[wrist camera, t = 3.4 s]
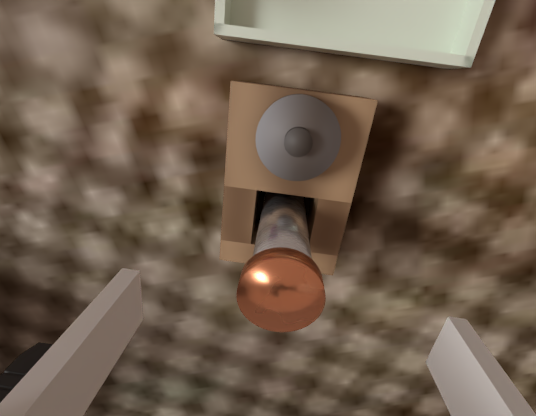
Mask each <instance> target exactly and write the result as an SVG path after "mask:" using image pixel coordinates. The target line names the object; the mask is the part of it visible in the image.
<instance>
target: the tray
mask: <svg viewBox="0 0 536 416" xmlns="http://www.w3.org/2000/svg"><path fill="white" fill-rule="evenodd" d="M494 3H495V0H215V19H214V34H215V35H216V36H218V37H219V38H221V39H223V40H231V41H238V42H246V43H254V44H261V45H269V46H276V47H284V48H292V49H299V50H307V51H315V52H322V53H330V54H338V55H345V56H353V57H361V58H368V59H376V60H383V61H391V62H399V63H406V64H414V65H422V66H429V67H437V68H445V69H460V68H471V66H472V63H473V61H474V58H475V55H476V52H477V50H478V47H479V44H480V41H481V39H482V36H483V33H484V30H485V28H486V25H487V22H488V19H489V17H490V14H491V11H492V8H493V6H494Z"/></svg>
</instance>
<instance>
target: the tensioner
mask: <svg viewBox="0 0 536 416" xmlns="http://www.w3.org/2000/svg"><path fill="white" fill-rule="evenodd" d="M377 102H378V100H374V99H369V98H365V97H358V96H351V95H343V94H336V93H328V92H321V91H313V90H305V89H298V88H290V87H283V86H275V85H268V84H260V83H252V82H245V81H231V84H230V100H229V116H228V132H227V148H226V164H225V180H224V196H223V211H222V227H221V243H220V259H219V260H226V261H233V262H240V263H247V261H248V260H249V259H250V258H251V257H253V252H254V247H255V242H256V237H257V232H258V227H259V223H260V221H256V216H257V207H258V198H259V191H266V192H274V193H281V194H288V195H296V196H303V197H310V198H311V200H310V205H309V210H308V215H307V227H308V234H309V242H310V250H311V257H312V260H313V261H314V262H315V263H316V264H317V266H318V267H319V269H320V271H321V274H327V275H333V273H334V269H335V265H336V261H337V257H338V254H339V250H340V246H341V242H342V238H343V234H344V230H345V226H346V222H347V219H348V215H349V211H350V207H351V203H352V199H353V195H354V191H355V188H356V184H357V180H358V176H359V172H360V168H361V164H362V160H363V156H364V153H365V149H366V145H367V141H368V137H369V133H370V129H371V125H372V121H373V118H374V114H375V110H376V106H377Z"/></svg>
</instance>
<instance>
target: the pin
mask: <svg viewBox="0 0 536 416" xmlns="http://www.w3.org/2000/svg"><path fill="white" fill-rule="evenodd" d="M237 302H238V306H239V308H240V310H241V312H242V313H243V315H244V316H245V317H246V318H247V319H248V320H249V321H251V322H252V323H253V324H255V325H257V326H259V327H261V328H263V329H266V330H270V331H275V332H290V331H295V330H299V329H302V328H304V327H306V326H308V325H310V324H311V323H312V322H314V321H315V320H316V319H317V318H318V317H319V315H320V314H321V312H322V311H323V308H324V305H325V290H324V285H323V279H322V274H321V271H320V269H319V267H318V266H317V264H316V263H315V262H314V261H313V260H312V257H311V250H310V242H309V234H308V227H307V219H306V212H305V204H304V198H303V196H296V195H288V194H281V193H274V192H266V194H265V198H264V203H263V208H262V213H261V218H260V223H259V227H258V232H257V237H256V242H255V247H254V252H253V257H251V258H250V259H249V260H248V261H247V263H246V264H245V265H244V267H243V269H242V272H241V276H240V280H239V284H238V288H237Z"/></svg>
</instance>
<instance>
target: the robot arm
mask: <svg viewBox="0 0 536 416" xmlns="http://www.w3.org/2000/svg"><path fill="white" fill-rule="evenodd" d="M142 321H143V308H142V294H141V280H140V271H138V270H131V269H124V268H122V269H121V270H120V271H119V272H118V273H117V275H116V276H115V277H114V278H113V279H112V280H111V281H110V282H109V283H108V285H107V286H106V287H105V288H104V289H103V290H102V291H101V292H100V293H99V294H98V296H97V297H96V298H95V299H94V300H93V301H92V302H91V303H90V304H89V305H88V307H87V308H86V309H85V310H84V311H83V312H82V313H81V314H80V315H79V317H78V318H77V319H76V320H75V321H74V322H73V323H72V324H71V325H70V326H69V328H68V329H67V330H66V331H65V332H64V333H63V334H62V335H61V336H60V337H59V339H58V340H57V341H56V342H55V343H54V344H53V345H52V344H46V343H40V342H39V343H38V344H36V345H35V346H33V347H31V348H30V349H28V350H27V351H25V352H24V353H22V354H21V355H19V356H18V357H17V358H16V359H15V360H14V361H13V362H12V363H11V364H10V365H9V366H8V368H7V369H6V370H5V371H4V373H3V374H1V375H0V416H83V415H84V413H85V412H86V410H87V409H88V407H89V405H90V404H91V402H92V401H93V399H94V397H95V396H96V394H97V393H98V391H99V389H100V388H101V386H102V385H103V383H104V381H105V380H106V378H107V377H108V375H109V373H110V372H111V370H112V369H113V367H114V365H115V364H116V362H117V361H118V359H119V357H120V356H121V354H122V353H123V351H124V349H125V348H126V346H127V345H128V343H129V341H130V340H131V338H132V337H133V335H134V333H135V332H136V330H137V329H138V327H139V325H140V324H141V322H142ZM426 364H427V366H428V368H429V370H430V372H431V375H432V377H433V379H434V381H435V383H436V385H437V387H438V389H439V391H440V394H441V396H442V398H443V400H444V402H445V404H446V406H447V408H448V411H449V413H450V415H451V416H536V414H535V413H534V411H533V410H532V408H531V407H530V406H529V404H528V403H527V402H526V400H525V399H524V397H523V396H522V395H521V393H520V392H519V391H518V389H517V388H516V386H515V385H514V384H513V382H512V381H511V380H510V378H509V377H508V375H507V374H506V373H505V371H504V370H503V369H502V367H501V366H500V365H499V363H498V362H497V360H496V359H495V358H494V356H493V355H492V354H491V352H490V351H489V349H488V348H487V347H486V345H485V344H484V343H483V341H482V340H481V338H480V337H479V336H478V334H477V333H476V332H475V330H474V329H473V327H472V326H471V325H470V323H469V322H468V321H467V319H462V318H455V317H449V316H448V317H447V319H446V322H445V324H444V326H443V328H442V330H441V332H440V334H439V336H438V338H437V340H436V342H435V344H434V346H433V348H432V350H431V352H430V354H429V356H428V358H427V360H426Z"/></svg>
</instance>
